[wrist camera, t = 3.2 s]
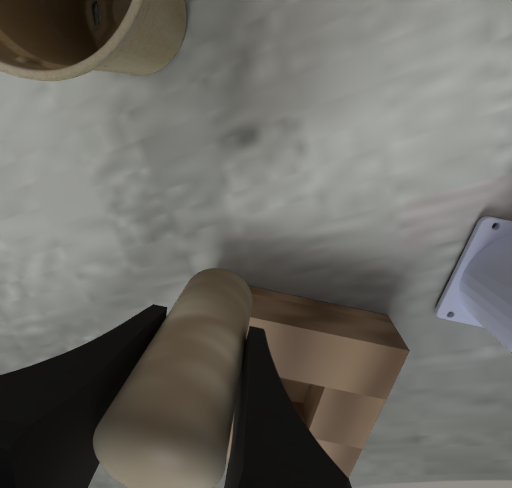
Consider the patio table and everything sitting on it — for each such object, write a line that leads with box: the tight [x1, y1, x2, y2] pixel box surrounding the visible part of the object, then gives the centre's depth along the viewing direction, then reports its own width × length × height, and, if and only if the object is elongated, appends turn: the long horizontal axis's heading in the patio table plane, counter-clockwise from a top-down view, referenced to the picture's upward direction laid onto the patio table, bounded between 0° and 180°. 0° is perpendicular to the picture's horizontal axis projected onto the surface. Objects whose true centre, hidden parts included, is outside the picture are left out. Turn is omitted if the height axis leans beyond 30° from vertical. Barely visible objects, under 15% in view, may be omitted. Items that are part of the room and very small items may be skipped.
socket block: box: [226, 286, 410, 478], centre depth 23 cm, size 14×14×4 cm
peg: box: [93, 268, 252, 488], centre depth 11 cm, size 4×4×8 cm
